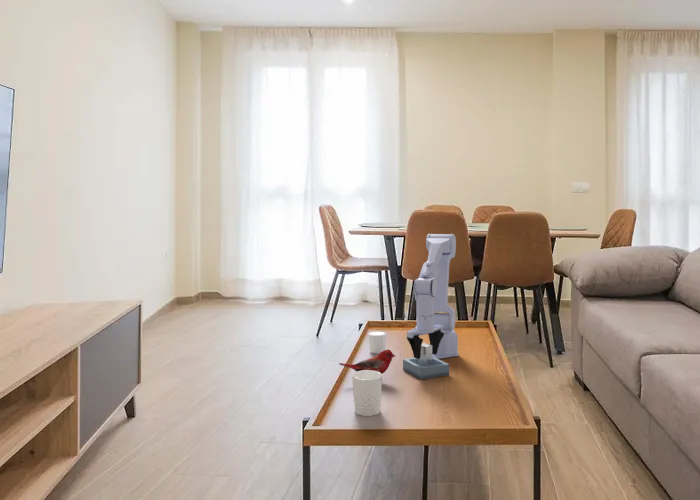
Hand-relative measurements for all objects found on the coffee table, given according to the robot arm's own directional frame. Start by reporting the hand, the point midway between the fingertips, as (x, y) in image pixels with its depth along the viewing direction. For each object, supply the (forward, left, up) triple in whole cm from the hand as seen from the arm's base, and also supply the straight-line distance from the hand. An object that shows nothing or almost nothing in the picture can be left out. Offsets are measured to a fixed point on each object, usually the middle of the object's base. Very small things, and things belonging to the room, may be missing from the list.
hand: (425, 355), depth 167 cm
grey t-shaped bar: (0, 0, -4) cm, 4 cm away
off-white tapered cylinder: (+3, -29, -6) cm, 30 cm away
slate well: (0, 0, -5) cm, 5 cm away
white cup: (+31, +21, -6) cm, 38 cm away
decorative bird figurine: (+21, 0, -6) cm, 22 cm away
